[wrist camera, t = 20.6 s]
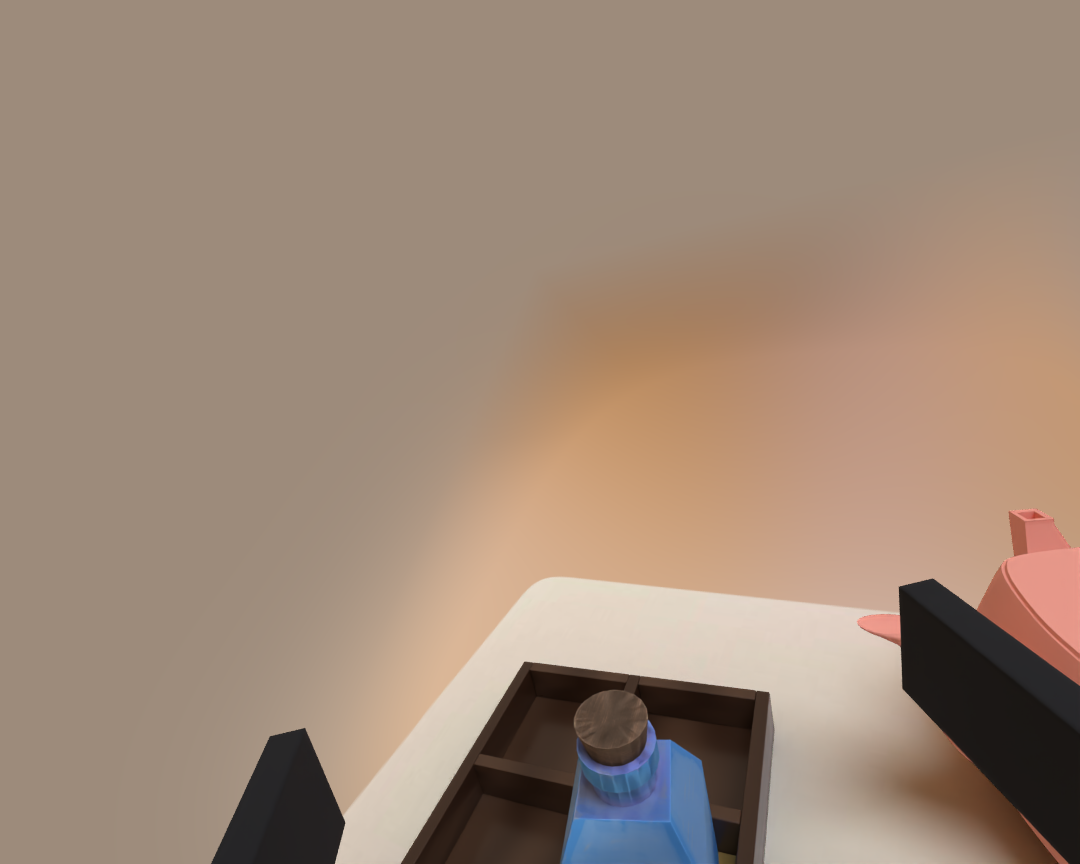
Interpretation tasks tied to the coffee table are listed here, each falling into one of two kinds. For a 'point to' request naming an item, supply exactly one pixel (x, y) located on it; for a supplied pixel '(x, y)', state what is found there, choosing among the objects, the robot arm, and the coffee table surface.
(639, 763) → the perfume bottle
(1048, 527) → the teapot
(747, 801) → the wooden compartment tray
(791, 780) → the coffee table surface
